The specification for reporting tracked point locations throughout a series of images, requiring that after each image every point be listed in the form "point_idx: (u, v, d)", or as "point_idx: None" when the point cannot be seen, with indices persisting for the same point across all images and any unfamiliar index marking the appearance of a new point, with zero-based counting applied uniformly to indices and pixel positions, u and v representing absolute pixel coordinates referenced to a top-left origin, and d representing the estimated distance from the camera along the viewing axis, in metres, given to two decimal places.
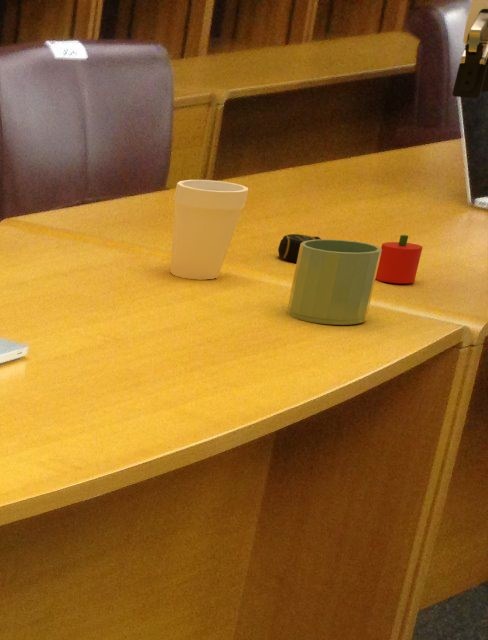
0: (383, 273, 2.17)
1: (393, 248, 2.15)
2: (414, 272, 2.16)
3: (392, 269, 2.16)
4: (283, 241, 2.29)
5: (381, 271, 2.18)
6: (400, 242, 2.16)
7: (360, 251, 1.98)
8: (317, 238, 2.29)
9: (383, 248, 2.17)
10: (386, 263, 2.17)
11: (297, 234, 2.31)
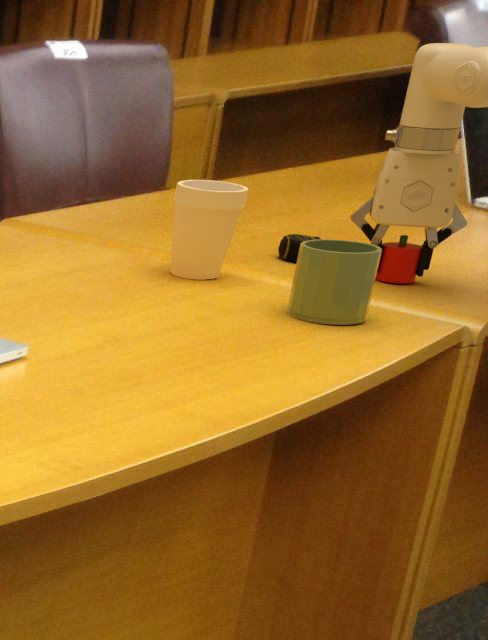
0: (383, 273, 2.17)
1: (393, 248, 2.15)
2: (414, 272, 2.16)
3: (392, 269, 2.16)
4: (283, 241, 2.29)
5: (381, 271, 2.18)
6: (400, 242, 2.16)
7: (360, 251, 1.98)
8: (317, 238, 2.29)
9: (383, 248, 2.17)
10: (386, 263, 2.17)
11: (297, 234, 2.31)
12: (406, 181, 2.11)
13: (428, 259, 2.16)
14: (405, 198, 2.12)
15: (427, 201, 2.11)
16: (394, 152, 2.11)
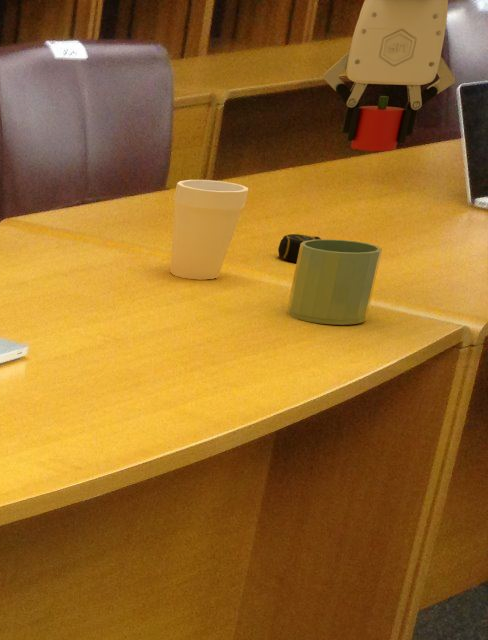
0: (360, 140, 1.92)
1: (371, 110, 1.90)
2: (395, 138, 1.91)
3: (370, 135, 1.91)
4: (283, 241, 2.29)
5: (358, 138, 1.93)
6: (379, 104, 1.91)
7: (360, 251, 1.98)
8: (317, 238, 2.29)
9: (360, 111, 1.92)
10: (363, 128, 1.92)
11: (297, 234, 2.31)
12: (385, 31, 1.86)
13: (411, 123, 1.91)
14: (384, 51, 1.87)
15: (409, 54, 1.86)
16: None
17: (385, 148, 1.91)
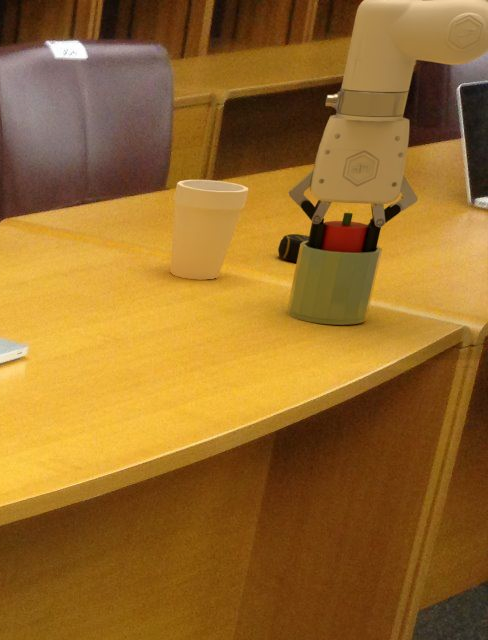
0: None
1: (335, 227, 1.93)
2: None
3: (335, 251, 1.94)
4: (283, 241, 2.29)
5: None
6: (344, 221, 1.94)
7: None
8: None
9: (325, 228, 1.94)
10: (328, 244, 1.94)
11: (297, 234, 2.31)
12: (349, 152, 1.88)
13: (375, 239, 1.93)
14: (348, 171, 1.89)
15: (372, 174, 1.89)
16: (335, 119, 1.88)
17: None
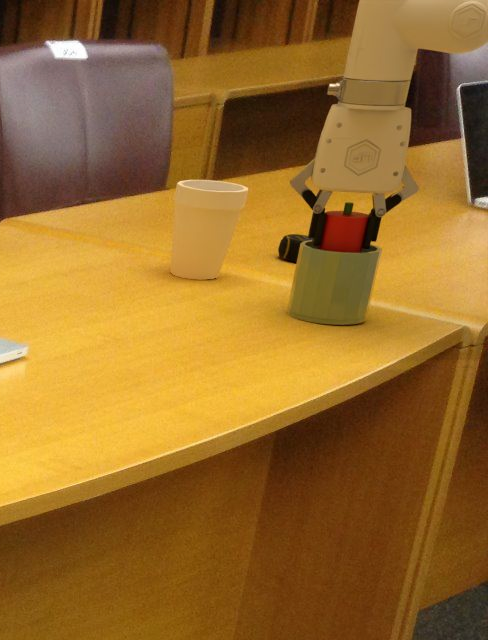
0: (326, 245, 1.94)
1: (336, 217, 1.92)
2: (360, 244, 1.93)
3: (335, 240, 1.93)
4: (283, 241, 2.29)
5: (324, 243, 1.95)
6: (345, 210, 1.93)
7: None
8: None
9: (326, 217, 1.94)
10: (329, 234, 1.94)
11: (297, 234, 2.31)
12: (350, 141, 1.88)
13: (376, 229, 1.93)
14: (349, 160, 1.89)
15: (374, 163, 1.88)
16: (337, 108, 1.87)
17: None
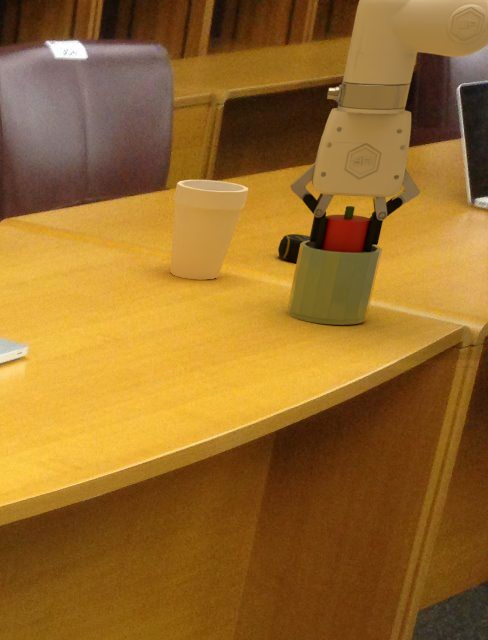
0: (327, 249, 1.94)
1: (338, 221, 1.92)
2: (362, 248, 1.93)
3: (337, 244, 1.93)
4: (283, 241, 2.29)
5: (325, 247, 1.95)
6: (346, 214, 1.93)
7: None
8: None
9: (327, 221, 1.94)
10: (330, 238, 1.94)
11: (297, 234, 2.31)
12: (350, 145, 1.88)
13: (377, 233, 1.93)
14: (350, 164, 1.89)
15: (374, 167, 1.88)
16: (337, 112, 1.88)
17: None
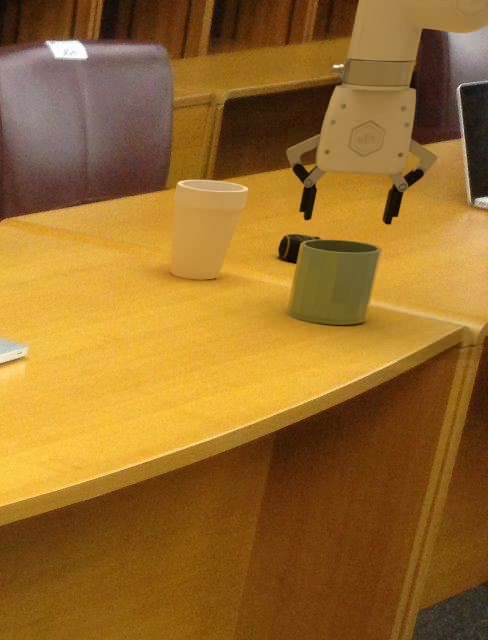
0: None
1: None
2: None
3: None
4: (283, 241, 2.29)
5: None
6: None
7: (360, 251, 1.98)
8: (317, 238, 2.29)
9: None
10: None
11: (297, 234, 2.31)
12: (354, 122, 1.87)
13: (397, 205, 1.91)
14: (353, 141, 1.88)
15: (378, 145, 1.87)
16: (341, 89, 1.86)
17: None
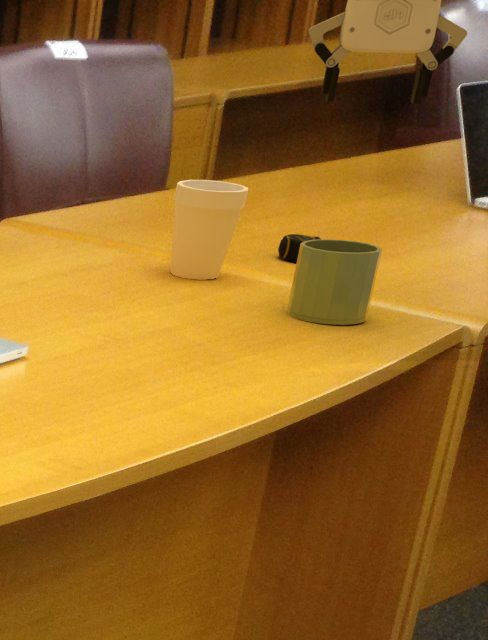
0: None
1: None
2: None
3: None
4: (283, 241, 2.29)
5: None
6: None
7: (360, 251, 1.98)
8: (317, 238, 2.29)
9: None
10: None
11: (297, 234, 2.31)
12: None
13: (426, 84, 1.84)
14: (380, 18, 1.82)
15: (405, 21, 1.81)
16: None
17: None
